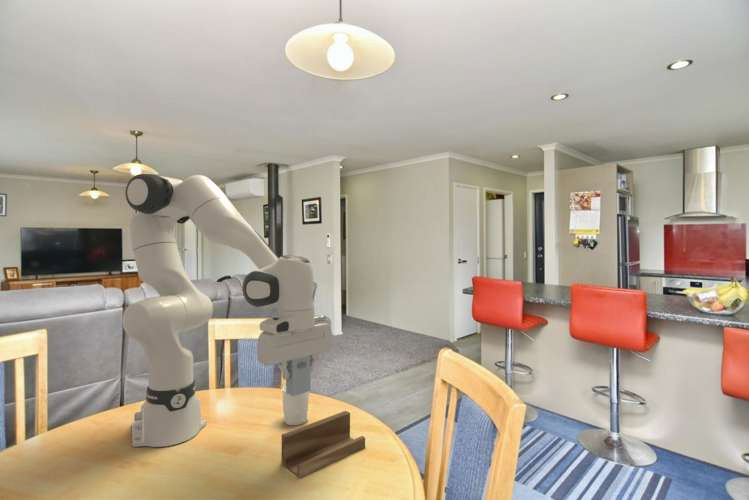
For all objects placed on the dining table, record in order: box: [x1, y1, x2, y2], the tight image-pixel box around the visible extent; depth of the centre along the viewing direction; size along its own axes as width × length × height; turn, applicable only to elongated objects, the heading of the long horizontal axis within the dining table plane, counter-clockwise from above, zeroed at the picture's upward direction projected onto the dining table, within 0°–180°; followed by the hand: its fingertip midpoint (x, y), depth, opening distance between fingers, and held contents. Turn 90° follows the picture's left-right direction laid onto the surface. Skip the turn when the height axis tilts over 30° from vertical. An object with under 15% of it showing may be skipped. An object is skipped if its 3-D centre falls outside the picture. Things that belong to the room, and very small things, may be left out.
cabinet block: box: [285, 356, 311, 396], centre depth 97 cm, size 4×5×9 cm
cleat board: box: [281, 410, 366, 479], centre depth 98 cm, size 8×20×7 cm, turn 134°
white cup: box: [281, 385, 310, 426], centre depth 117 cm, size 8×8×10 cm
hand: (298, 375), depth 97 cm, fingers closed on cabinet block, 5 cm apart
